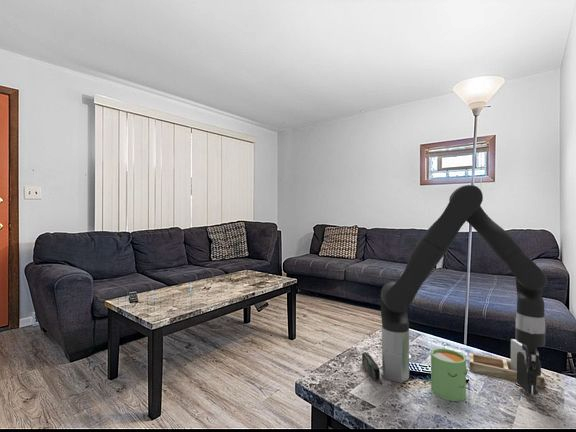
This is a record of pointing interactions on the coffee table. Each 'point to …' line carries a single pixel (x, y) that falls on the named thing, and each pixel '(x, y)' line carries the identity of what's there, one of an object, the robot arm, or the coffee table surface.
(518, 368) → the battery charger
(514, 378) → the slot organizer
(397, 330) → the robot arm
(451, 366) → the mug
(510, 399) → the coffee table surface
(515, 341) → the skincare box
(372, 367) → the mobile phone
